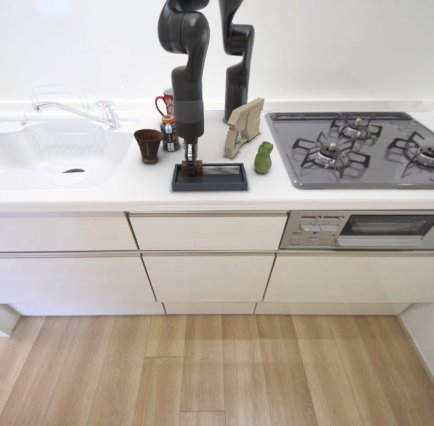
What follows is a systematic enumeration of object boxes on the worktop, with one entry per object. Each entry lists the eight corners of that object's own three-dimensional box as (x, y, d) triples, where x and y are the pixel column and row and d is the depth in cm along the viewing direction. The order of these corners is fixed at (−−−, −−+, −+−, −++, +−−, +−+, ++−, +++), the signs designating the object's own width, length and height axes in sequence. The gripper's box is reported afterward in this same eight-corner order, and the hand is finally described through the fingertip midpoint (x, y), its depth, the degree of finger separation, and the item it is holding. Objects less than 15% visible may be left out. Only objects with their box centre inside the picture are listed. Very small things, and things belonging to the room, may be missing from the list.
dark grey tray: (172, 191, 69) (171, 184, 67) (176, 170, 77) (175, 163, 75) (246, 190, 69) (247, 183, 67) (242, 169, 77) (243, 162, 75)
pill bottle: (176, 152, 85) (173, 121, 77) (161, 150, 86) (156, 120, 78) (181, 144, 89) (178, 114, 81) (166, 143, 90) (162, 112, 82)
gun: (230, 160, 80) (236, 115, 71) (222, 158, 82) (226, 113, 72) (258, 138, 97) (265, 98, 87) (251, 136, 98) (257, 96, 88)
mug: (187, 119, 105) (185, 86, 96) (188, 128, 99) (186, 94, 89) (158, 121, 104) (153, 88, 95) (158, 130, 98) (152, 95, 88)
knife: (238, 171, 72) (239, 159, 70) (239, 176, 70) (240, 164, 68) (182, 171, 72) (181, 160, 69) (182, 176, 70) (181, 165, 68)
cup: (171, 160, 81) (168, 132, 74) (149, 170, 77) (143, 142, 70) (157, 150, 86) (152, 123, 79) (135, 160, 81) (128, 132, 74)
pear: (258, 164, 79) (263, 136, 72) (273, 170, 76) (279, 141, 69) (249, 172, 76) (253, 143, 69) (264, 178, 73) (269, 149, 66)
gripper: (203, 127, 54) (205, 187, 66) (204, 105, 64) (205, 160, 76) (171, 127, 54) (178, 187, 66) (176, 105, 64) (181, 160, 76)
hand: (192, 172), depth 71 cm, fingers closed on knife, 2 cm apart
